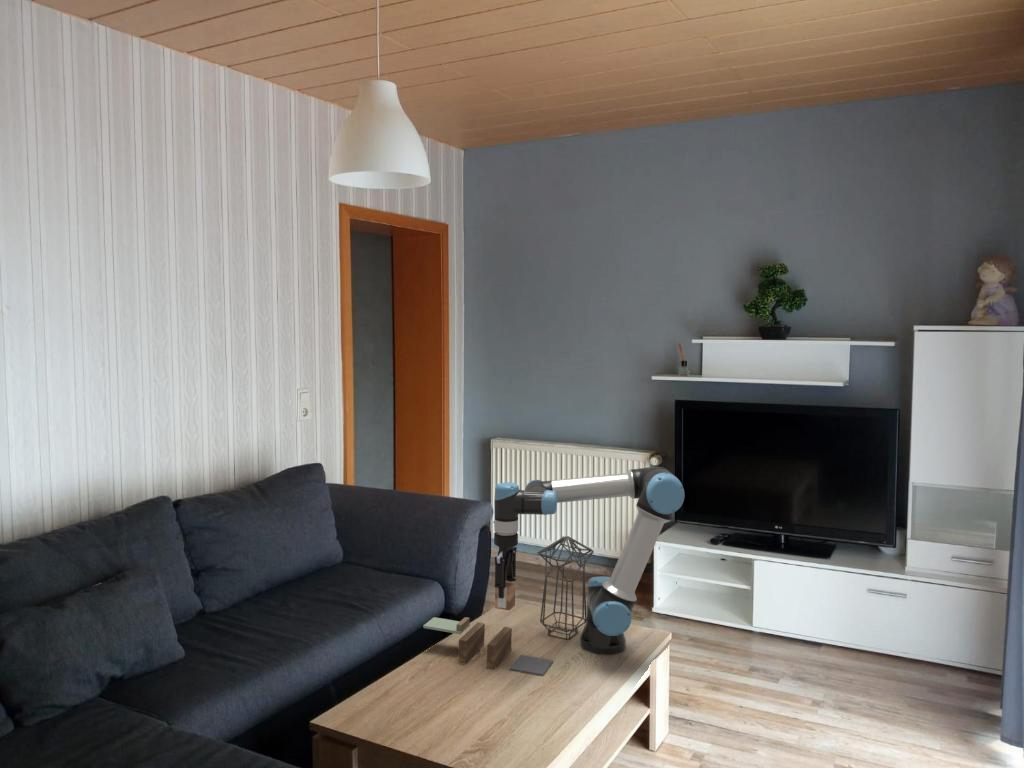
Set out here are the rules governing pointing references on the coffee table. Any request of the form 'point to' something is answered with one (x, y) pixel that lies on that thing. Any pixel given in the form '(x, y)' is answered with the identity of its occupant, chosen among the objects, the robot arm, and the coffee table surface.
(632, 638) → the coffee table surface
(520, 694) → the coffee table surface
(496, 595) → the block
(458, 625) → the cover
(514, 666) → the mat
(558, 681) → the coffee table surface
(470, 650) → the brown parallel walls
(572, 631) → the geometric lantern
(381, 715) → the coffee table surface
